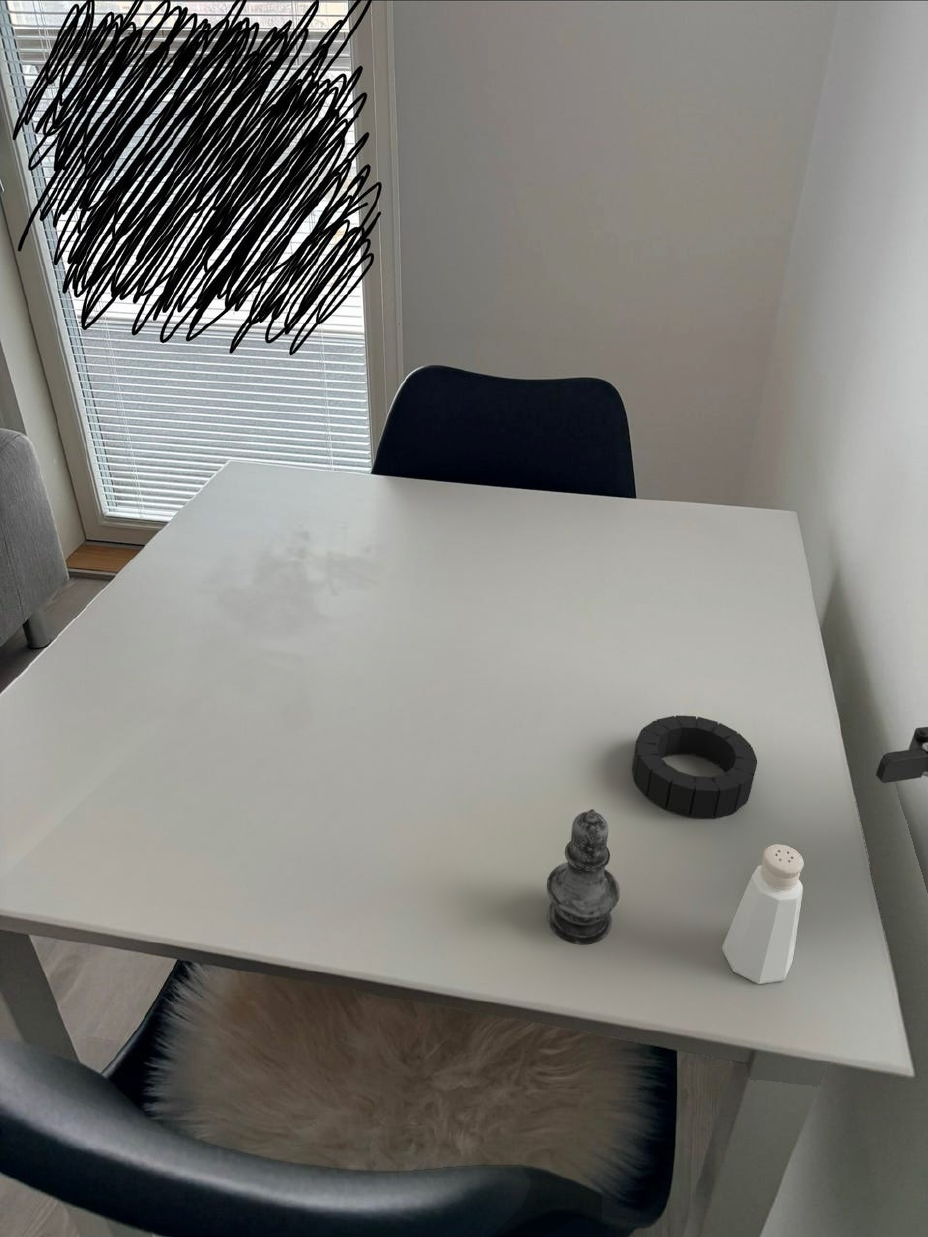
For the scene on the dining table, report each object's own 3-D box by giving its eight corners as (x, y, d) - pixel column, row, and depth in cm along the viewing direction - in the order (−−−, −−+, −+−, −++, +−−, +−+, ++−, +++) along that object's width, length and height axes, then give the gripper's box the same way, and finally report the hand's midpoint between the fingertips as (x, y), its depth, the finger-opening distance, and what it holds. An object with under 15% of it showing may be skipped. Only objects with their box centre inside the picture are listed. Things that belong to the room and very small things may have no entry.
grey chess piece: (536, 936, 71) (545, 826, 65) (553, 883, 76) (563, 776, 69) (608, 956, 69) (624, 845, 63) (620, 900, 74) (637, 793, 68)
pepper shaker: (722, 978, 68) (747, 877, 62) (720, 923, 72) (744, 824, 67) (795, 992, 67) (828, 891, 61) (788, 936, 71) (818, 836, 66)
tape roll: (772, 781, 87) (779, 754, 86) (706, 836, 81) (712, 808, 79) (677, 728, 95) (682, 702, 93) (609, 774, 88) (612, 747, 86)
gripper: (1046, 686, 72) (870, 709, 68) (1208, 805, 60) (1003, 840, 57) (1015, 757, 75) (847, 782, 72) (1161, 882, 63) (967, 919, 60)
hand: (916, 808), depth 64 cm, fingers open, 8 cm apart
